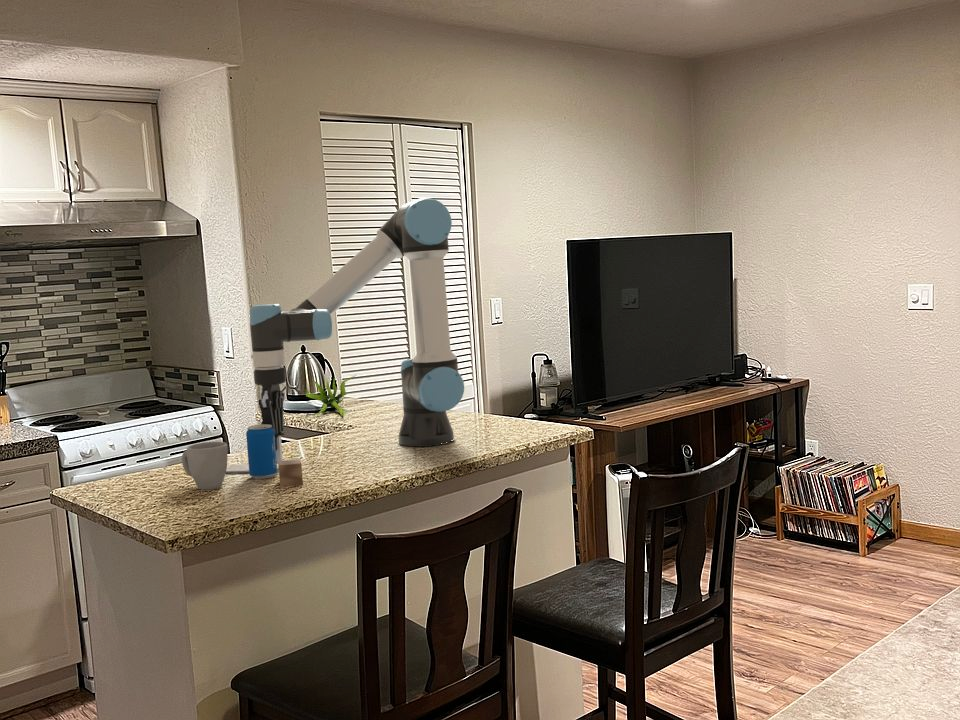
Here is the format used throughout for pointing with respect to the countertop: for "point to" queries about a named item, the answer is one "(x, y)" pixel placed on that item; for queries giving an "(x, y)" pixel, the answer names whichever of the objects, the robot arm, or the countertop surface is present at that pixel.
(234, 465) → the tile
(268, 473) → the beverage can
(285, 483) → the walnut block
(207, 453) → the mug
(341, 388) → the decorative plant
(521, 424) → the countertop surface
